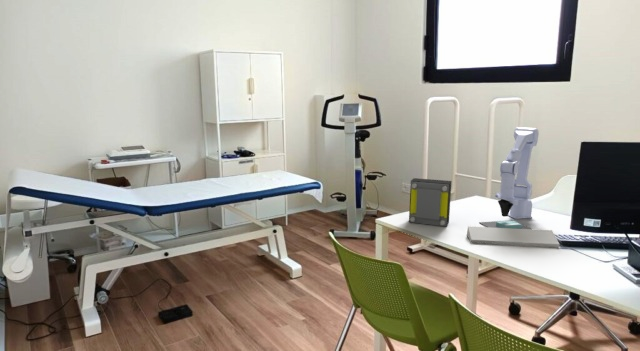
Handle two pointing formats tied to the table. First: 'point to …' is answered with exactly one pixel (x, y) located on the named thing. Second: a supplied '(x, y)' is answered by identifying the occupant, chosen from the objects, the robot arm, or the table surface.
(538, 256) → the table surface
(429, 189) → the electrical component
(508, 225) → the card box
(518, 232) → the bevelled gray strip
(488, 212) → the table surface
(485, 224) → the mat
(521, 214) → the robot arm
